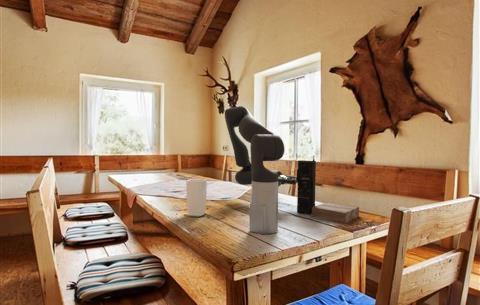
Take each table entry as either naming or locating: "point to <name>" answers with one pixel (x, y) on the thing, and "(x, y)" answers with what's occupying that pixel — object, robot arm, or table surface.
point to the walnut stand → (335, 212)
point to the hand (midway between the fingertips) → (300, 181)
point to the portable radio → (306, 186)
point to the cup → (196, 196)
